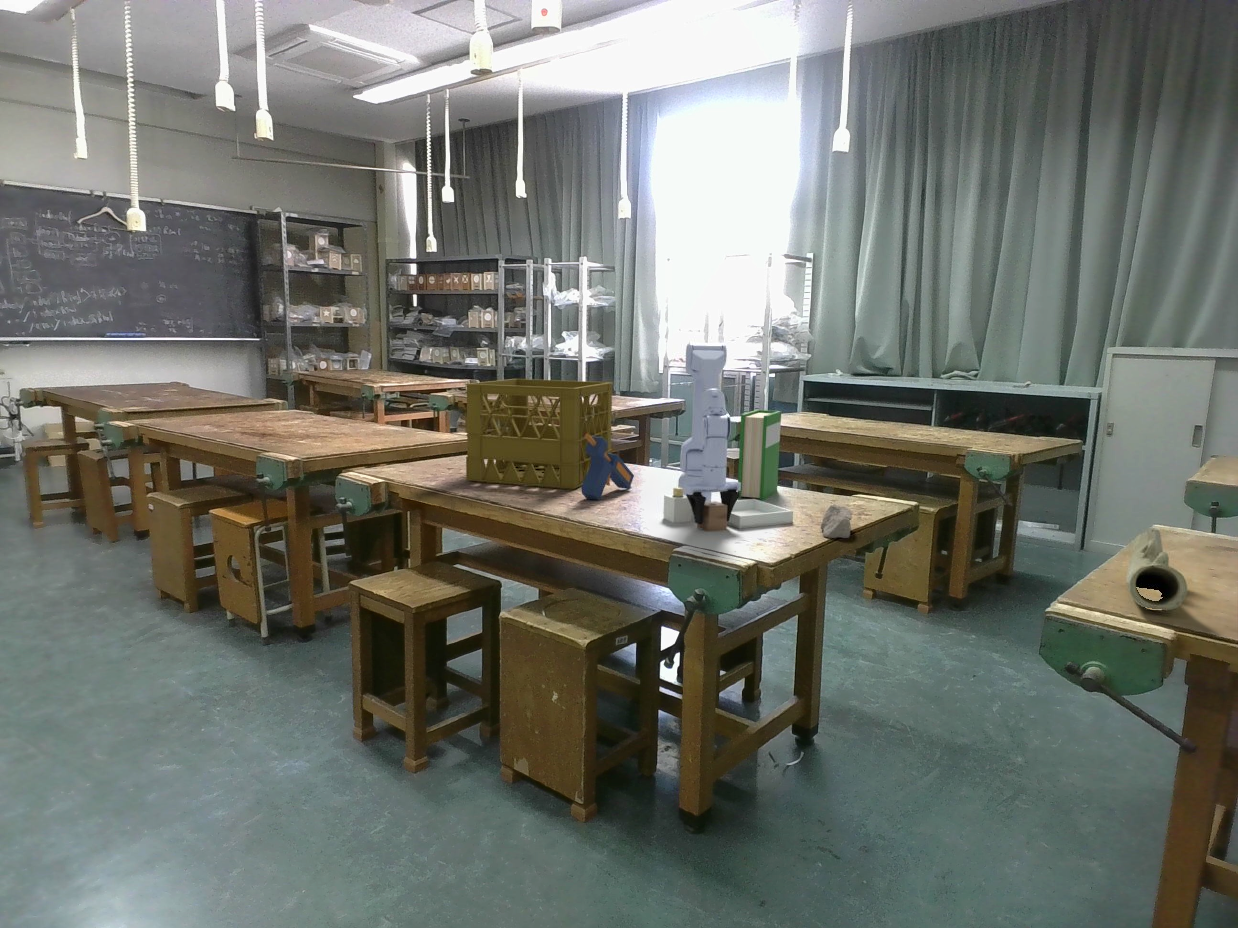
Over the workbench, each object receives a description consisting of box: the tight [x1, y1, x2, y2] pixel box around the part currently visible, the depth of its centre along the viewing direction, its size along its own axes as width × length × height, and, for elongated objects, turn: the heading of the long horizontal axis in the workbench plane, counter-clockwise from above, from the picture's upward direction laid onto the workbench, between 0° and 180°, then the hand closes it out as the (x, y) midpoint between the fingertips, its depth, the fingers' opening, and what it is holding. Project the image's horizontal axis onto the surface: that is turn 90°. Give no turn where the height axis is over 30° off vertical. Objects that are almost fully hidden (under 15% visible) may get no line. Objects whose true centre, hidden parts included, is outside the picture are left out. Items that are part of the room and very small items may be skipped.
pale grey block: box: [663, 486, 692, 524], centre depth 197 cm, size 5×5×8 cm
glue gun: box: [580, 433, 635, 501], centre depth 224 cm, size 6×31×15 cm
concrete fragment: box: [820, 504, 854, 539], centre depth 188 cm, size 7×14×6 cm, turn 162°
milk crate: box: [465, 378, 614, 491], centre depth 251 cm, size 35×35×30 cm
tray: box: [718, 498, 794, 530], centre depth 200 cm, size 16×16×3 cm
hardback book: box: [737, 409, 782, 502], centre depth 230 cm, size 18×7×24 cm, turn 156°
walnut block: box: [696, 500, 728, 533], centre depth 189 cm, size 5×5×6 cm
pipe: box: [1125, 528, 1188, 611], centre depth 145 cm, size 28×8×10 cm, turn 155°
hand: (712, 521), depth 189 cm, fingers open, 7 cm apart
